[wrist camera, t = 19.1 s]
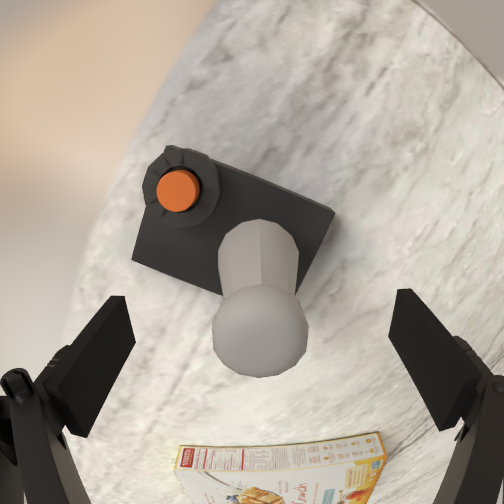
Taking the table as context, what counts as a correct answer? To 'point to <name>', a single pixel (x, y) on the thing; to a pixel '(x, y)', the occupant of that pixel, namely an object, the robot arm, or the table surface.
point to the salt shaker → (259, 301)
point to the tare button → (178, 190)
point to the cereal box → (283, 472)
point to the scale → (219, 218)
